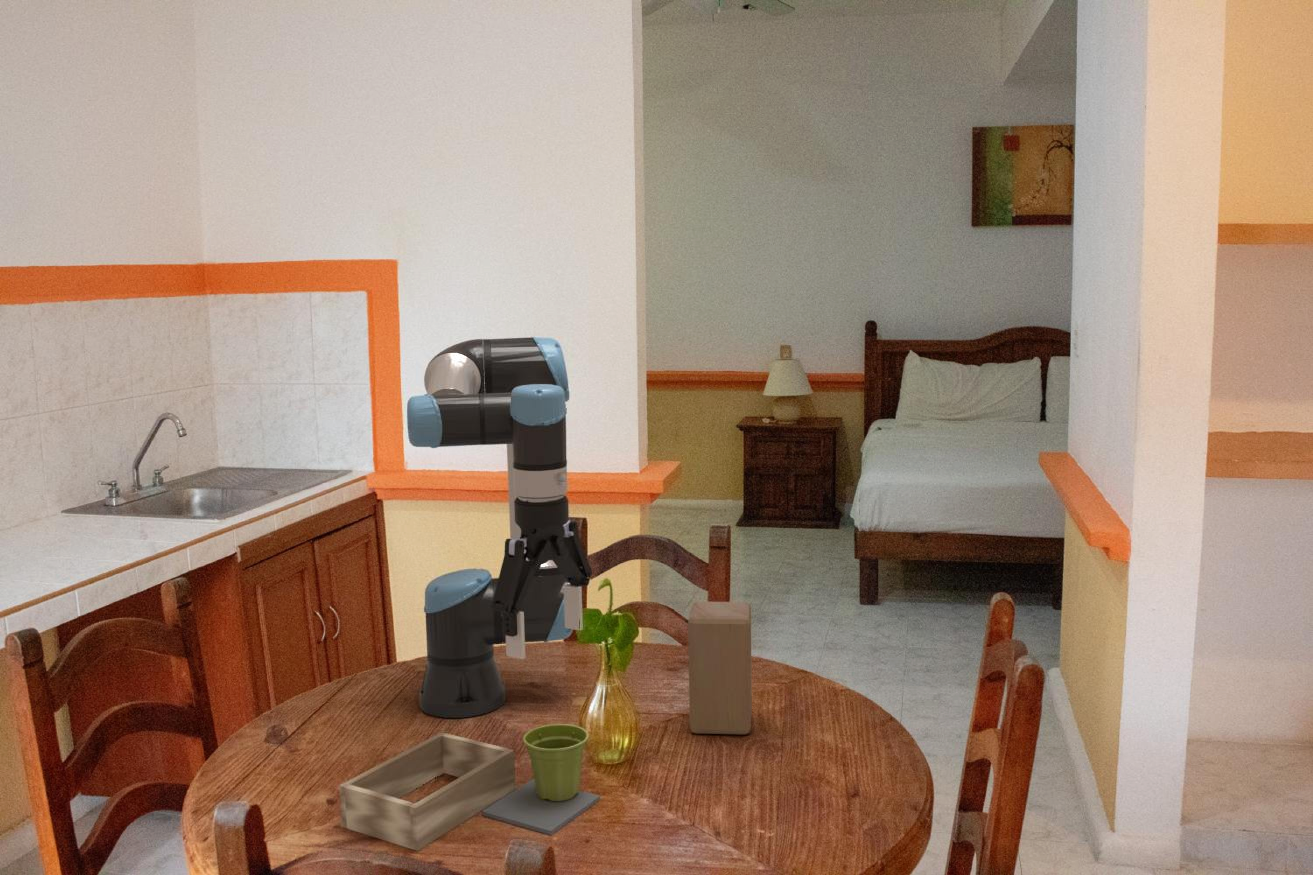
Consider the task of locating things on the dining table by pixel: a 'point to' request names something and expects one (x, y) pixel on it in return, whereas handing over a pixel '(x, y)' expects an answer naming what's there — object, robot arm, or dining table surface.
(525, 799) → the pad
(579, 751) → the plant pot
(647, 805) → the dining table surface
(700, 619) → the wooden block
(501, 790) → the crate
